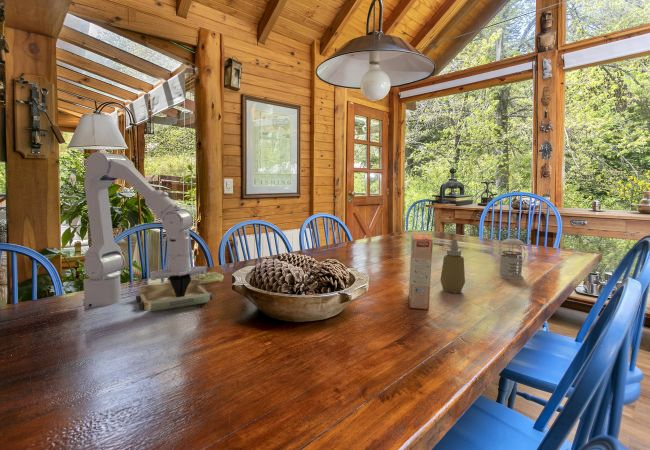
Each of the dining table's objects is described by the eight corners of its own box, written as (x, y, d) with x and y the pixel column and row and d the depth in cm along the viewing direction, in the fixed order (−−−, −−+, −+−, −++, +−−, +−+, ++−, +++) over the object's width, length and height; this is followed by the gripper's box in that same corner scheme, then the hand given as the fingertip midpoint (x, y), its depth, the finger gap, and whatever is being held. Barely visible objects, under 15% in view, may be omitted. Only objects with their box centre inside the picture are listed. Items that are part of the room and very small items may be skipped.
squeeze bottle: (461, 288, 136) (463, 237, 134) (467, 295, 128) (470, 241, 126) (437, 287, 137) (440, 237, 134) (442, 294, 129) (444, 240, 126)
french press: (491, 274, 156) (495, 213, 153) (511, 272, 161) (515, 212, 158) (512, 280, 147) (516, 215, 144) (532, 277, 152) (537, 214, 149)
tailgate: (150, 314, 104) (152, 305, 101) (149, 310, 105) (151, 301, 101) (207, 305, 113) (210, 297, 109) (206, 301, 113) (209, 292, 109)
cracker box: (430, 310, 112) (433, 239, 110) (409, 309, 113) (411, 238, 111) (427, 296, 126) (430, 232, 123) (408, 295, 127) (411, 232, 125)
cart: (140, 316, 105) (140, 296, 104) (135, 304, 114) (134, 286, 114) (213, 304, 115) (212, 286, 114) (202, 294, 125) (202, 278, 124)
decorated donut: (196, 290, 130) (196, 279, 130) (190, 282, 140) (190, 272, 139) (227, 286, 135) (227, 275, 135) (219, 279, 145) (219, 269, 144)
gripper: (152, 259, 99) (154, 310, 101) (209, 254, 107) (209, 301, 109) (148, 254, 105) (149, 302, 107) (202, 249, 113) (203, 294, 114)
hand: (179, 301), depth 108 cm, fingers closed, pressing on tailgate
